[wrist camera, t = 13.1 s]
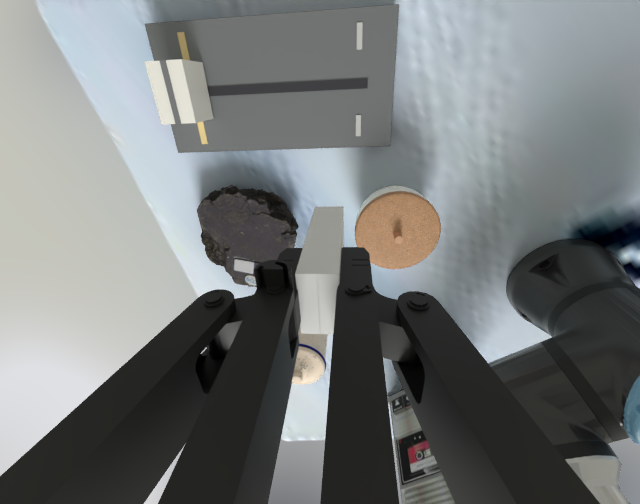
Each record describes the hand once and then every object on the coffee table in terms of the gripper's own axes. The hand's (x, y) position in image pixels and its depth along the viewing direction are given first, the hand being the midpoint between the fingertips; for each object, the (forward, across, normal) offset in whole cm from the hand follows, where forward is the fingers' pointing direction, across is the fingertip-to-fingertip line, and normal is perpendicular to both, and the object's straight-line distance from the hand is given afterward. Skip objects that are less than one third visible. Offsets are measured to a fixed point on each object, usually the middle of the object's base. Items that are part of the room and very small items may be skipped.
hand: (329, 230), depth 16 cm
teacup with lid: (+29, +7, +35) cm, 46 cm away
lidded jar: (+29, -7, +10) cm, 31 cm away
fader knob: (+25, +18, -7) cm, 32 cm away
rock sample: (+29, +14, +13) cm, 35 cm away
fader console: (+28, +8, -7) cm, 30 cm away
